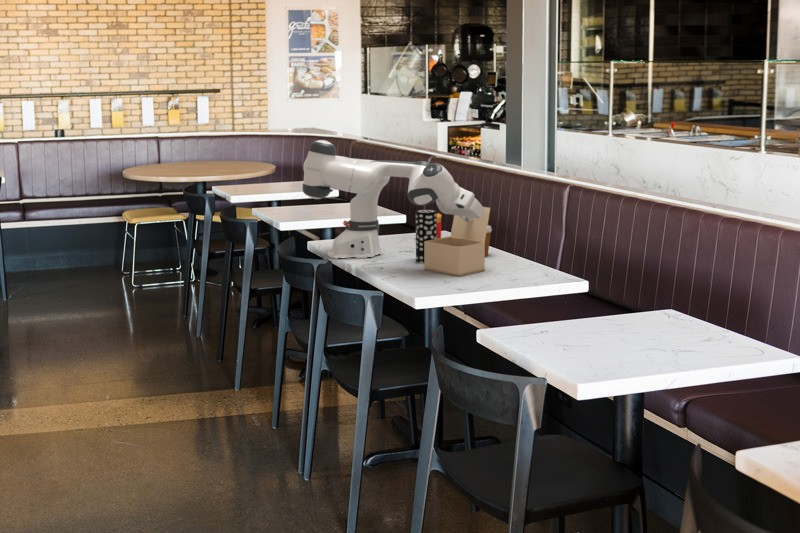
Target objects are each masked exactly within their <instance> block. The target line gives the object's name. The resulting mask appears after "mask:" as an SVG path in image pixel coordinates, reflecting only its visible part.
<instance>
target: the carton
mask: <svg viewBox="0 0 800 533" xmlns="http://www.w3.org/2000/svg"><path fill="white" fill-rule="evenodd" d="M485 259H486V257H485V242H481V241H475V240H468V239H462V238H456V237H450V236H444V237H441V238H439V239H434V240H428V241H424V263H423V264H424V265H423V266H424V271H429V272H434V273H439V274H444V275H449V276H455V277H458V278H459V277H464V276H468V275H472V274H477V273H480V272H481V273H482V272H485V269H486V268H485V265H486V264H485V262H486V260H485Z"/></svg>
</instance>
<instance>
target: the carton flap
mask: <svg viewBox="0 0 800 533" xmlns="http://www.w3.org/2000/svg"><path fill="white" fill-rule="evenodd" d="M482 207H483V208H484V214H483V216H482V217H481V218H480V219H479V218H473V221H472V222H465V221H464V219H462V218H461V217H459V216H458V215H453V220H452V226H451V232H450V236H449V237H456V238H462V239H468V240H475V241H481V242H485V237H486V231H487V225H489V220H490V211H491V207H488V206H482Z"/></svg>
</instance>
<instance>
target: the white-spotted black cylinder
mask: <svg viewBox="0 0 800 533" xmlns="http://www.w3.org/2000/svg"><path fill="white" fill-rule="evenodd" d="M437 212H438V211H437V210H435V209H417V210H415V262H416V263H419V264H424V241H428V240H434V239H437V214H438V213H437Z"/></svg>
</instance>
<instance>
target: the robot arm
mask: <svg viewBox="0 0 800 533" xmlns="http://www.w3.org/2000/svg"><path fill="white" fill-rule="evenodd" d="M306 156H307V157H306V158H305V160H304V162H303V165H302V166H303V167H302V169H303V183H302V192H303V195H305V196H307V197H309V198H310V199H314V200H321V199H325V198H327V197H328V196H329V195H330V194H331V193H332V192H333V191H334V190H333V189H336V190H339V191H341V192H342V191H343V192H347V193H348V192H349V193H352V194H356V196H354V197H353V198H351V200H350V203H349V210H350V211H349V212H350V215H349V216H350V218H349V220H343V222H342V224H343V226H344V227H345V230H344V231H342V232H341V233H339V235H338V236H337V237H335V238H334V239H333V241H332V245H331V246H332V248H331V250H328V251H327V252H326V255H327V257H328V258H331V259H336V260H339V259H338V258H342V257H356V258H355V259H368V258H367V257H372V258H374V257H376V256H375V255H378V254H380V255H382V254H381V253H383V252H382V248H381V244H380V239H379V231H380V222H379V219H378V202H379V197H380V193H381V191H382V190H383V188H384V187H385V186H386V185H388V183H389V181H390V178H391V177H393V178H394V177H397V178H407V179H409V180H408V187H407V188H408V189H407V199H408V200H409V202H410V203H411V204H413V205H415V206H419V207H422V206H424V207H425V206H427V205H430V204H432V203H433V202H435V204H436V206H437V208H438V209H439V211H440V212H441V213H442V214H445V215H453V216H454V215H458V216H459V217H461V218H462V219H464V221H465V222H472V221H473V218H479V219H480V218H481V217H482V216H483V214H484V208H483V207H484V206H483V205H482V204H481V203H480V201H479V200H478V199H477V198H476V197H475V194H474V193H473V191H469V190H467V189H465V188H463V187H461V186H459V184H458V183H457V182H456V181H455V180H454V177H453V175H452V174H450V172H449V171H448V170H447V168H445V167H444V165H441V164H440V163H436V162H433V163H430V162H429V161H425V160H419V161H402V160H401V161H400V160H398V161H397V160H387V159H386V160H384V159H379V160H373V159H361V158H351V157H347V156H342V155H337V148H336V146H335V144H333V143H332V142H330V141H328V140H323V139H319V140H314V141H312V142H311V143H310V145H309V147H308V153H307V155H306ZM331 188H333V189H331ZM373 256H374V257H373ZM378 256H379V255H378Z"/></svg>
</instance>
